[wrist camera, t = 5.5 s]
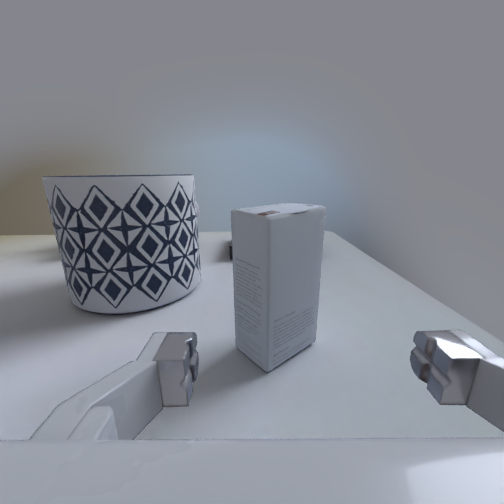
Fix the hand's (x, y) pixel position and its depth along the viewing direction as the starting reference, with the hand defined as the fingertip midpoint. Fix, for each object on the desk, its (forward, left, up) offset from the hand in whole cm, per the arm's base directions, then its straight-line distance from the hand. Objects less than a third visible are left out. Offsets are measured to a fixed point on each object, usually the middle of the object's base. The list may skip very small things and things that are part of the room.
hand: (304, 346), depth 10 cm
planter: (+17, -24, -8) cm, 31 cm away
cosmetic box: (0, -11, -8) cm, 14 cm away
